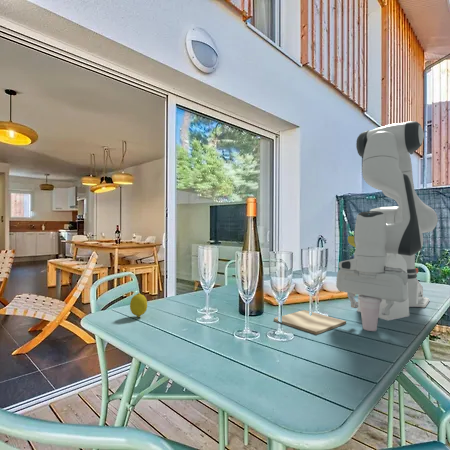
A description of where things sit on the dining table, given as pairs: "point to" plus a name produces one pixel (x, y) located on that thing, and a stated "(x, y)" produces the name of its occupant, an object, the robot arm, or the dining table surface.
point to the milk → (398, 307)
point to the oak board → (311, 321)
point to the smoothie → (369, 312)
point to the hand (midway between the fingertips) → (369, 311)
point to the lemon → (138, 305)
